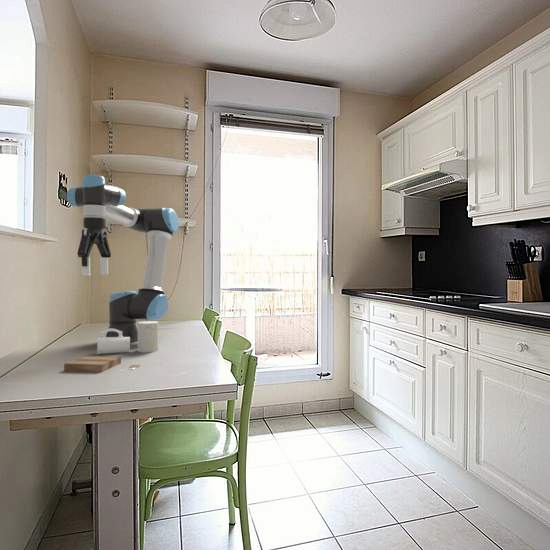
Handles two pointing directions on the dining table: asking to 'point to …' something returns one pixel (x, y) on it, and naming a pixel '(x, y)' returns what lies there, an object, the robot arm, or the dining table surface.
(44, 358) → the dining table surface
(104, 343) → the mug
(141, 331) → the cup
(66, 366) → the base brick
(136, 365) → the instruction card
